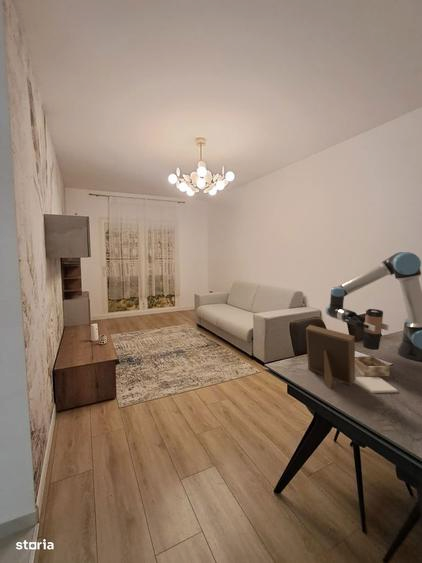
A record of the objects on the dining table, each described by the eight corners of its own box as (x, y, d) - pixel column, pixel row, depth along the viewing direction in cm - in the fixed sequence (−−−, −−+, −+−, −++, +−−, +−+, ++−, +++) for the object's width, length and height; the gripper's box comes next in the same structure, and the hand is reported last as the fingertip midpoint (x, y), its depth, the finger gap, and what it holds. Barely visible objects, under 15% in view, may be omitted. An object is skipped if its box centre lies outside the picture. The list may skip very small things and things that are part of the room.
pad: (378, 378, 129) (378, 376, 128) (397, 392, 117) (397, 390, 117) (355, 379, 128) (355, 377, 128) (372, 392, 116) (372, 390, 116)
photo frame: (312, 366, 141) (315, 322, 137) (354, 382, 125) (359, 333, 121) (297, 375, 131) (300, 328, 128) (341, 394, 115) (346, 341, 111)
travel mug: (382, 350, 131) (386, 312, 129) (365, 349, 133) (369, 311, 130) (375, 345, 139) (379, 309, 136) (360, 344, 140) (363, 308, 137)
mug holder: (371, 364, 144) (372, 356, 144) (389, 376, 132) (390, 366, 131) (349, 364, 144) (350, 356, 143) (364, 376, 131) (365, 367, 130)
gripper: (361, 321, 154) (396, 334, 132) (332, 323, 150) (363, 336, 128) (362, 309, 153) (398, 320, 131) (333, 310, 149) (365, 322, 127)
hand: (381, 328), depth 129 cm, fingers closed on travel mug, 7 cm apart
